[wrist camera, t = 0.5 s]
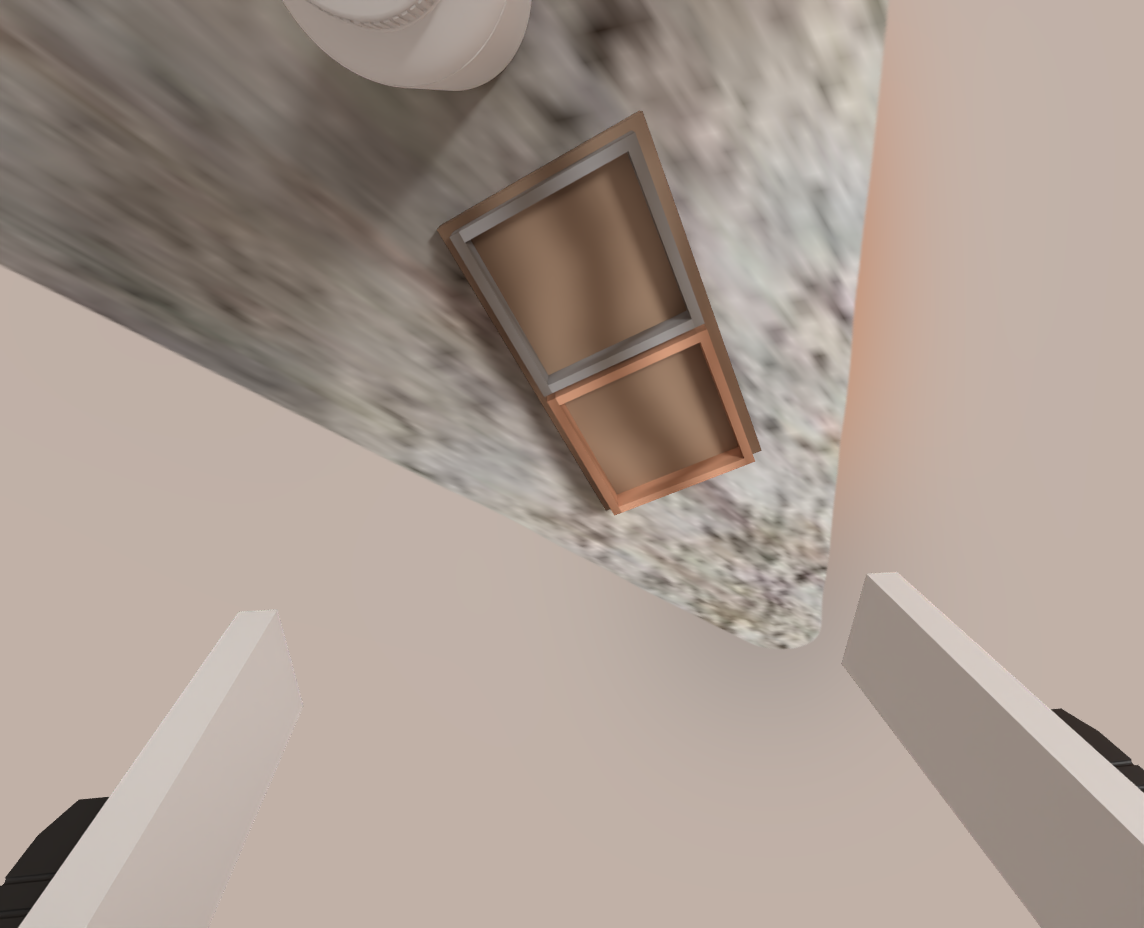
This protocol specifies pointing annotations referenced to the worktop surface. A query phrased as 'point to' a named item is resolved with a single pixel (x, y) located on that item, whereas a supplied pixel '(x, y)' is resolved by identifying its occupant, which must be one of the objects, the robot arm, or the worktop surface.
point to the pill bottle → (417, 38)
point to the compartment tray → (609, 317)
